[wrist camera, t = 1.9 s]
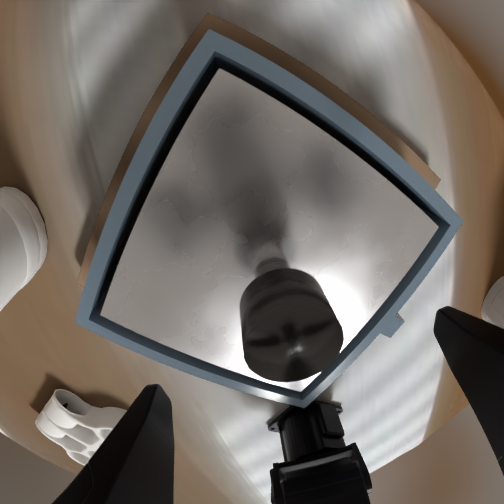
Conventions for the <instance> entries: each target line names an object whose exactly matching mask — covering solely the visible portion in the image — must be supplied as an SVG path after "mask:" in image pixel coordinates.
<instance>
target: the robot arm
mask: <svg viewBox="0 0 504 504" xmlns="http://www.w3.org/2000/svg"><path fill="white" fill-rule="evenodd" d="M434 334H435V337H436V339H437V341H438V343H439V345H440V347H441V349H442V351H443V354H444V356H445V358H446V360H447V362H448V365H449V367H450V369H451V371H452V373H453V374H454V376H455V378H456V380H457V381H458V383H459V385H460V387H461V388H462V390H463V392H464V394H465V396H466V397H467V399H468V401H469V403H470V405H471V407H472V408H473V410H474V412H475V414H476V416H477V418H478V420H479V422H480V424H481V426H482V428H483V430H484V432H485V434H486V436H487V438H488V441H489V443H490V445H491V447H492V449H493V451H494V454H495V455H496V458H497V460H498V463H499V465H500V467H501V470H502V472H503V475H504V329H503V328H501V327H499V326H496V325H494V324H491V323H489V322H487V321H484V320H482V319H479V318H477V317H474V316H472V315H469V314H467V313H465V312H462V311H460V310H457V309H455V308H452V307H450V306H446V307H443V308H441V309H439V310H438V311H437V313H436V318H435V323H434ZM342 411H343V409H342V407H340V406H335V405H330V404H326V403H321V402H317V401H312V402H311V403H310V404H309V405H307V406H306V407H305V408H302V407H298V406H294V405H291V406H290V407H289V408H288V409H287V410H286V411H285V412H284V413H282V414H281V415H280V416H279V417H278V418H277V419H275V420H274V421H273V422H272V423H271V424H270V425H268V430H269V431H273V432H279V433H280V438H281V444H282V450H283V455H284V461H285V462H282V463H273V469H271V470H270V476H271V503H272V504H370V500H369V496H368V494H369V493H372V483H371V479H370V475H369V472H368V469H367V467H366V465H365V462H364V460H363V458H362V456H361V454H360V451H359V449H358V447H357V445H356V443H352V444H350V445H348V446H346V445H345V442H344V439H343V436H344V430H343V427H342V424H341V422H340V419H339V416H338V415H339V414H340V413H342ZM173 487H174V433H173V419H172V405H171V401H170V399H169V397H168V396H167V394H166V393H165V391H164V390H163V389H162V387H161V386H160V385H159V384H152V385H147V386H146V387H145V388H144V389H143V390H142V392H141V393H140V394H139V396H138V397H137V398H136V399H135V401H134V402H133V403H132V405H131V406H130V407H129V409H128V410H127V411H126V413H125V414H124V415H123V416H122V418H121V419H120V420H119V422H118V423H117V424H116V426H115V427H114V428H113V430H112V431H111V432H110V433H109V435H108V436H107V437H106V439H105V440H104V441H103V443H102V444H101V445H100V447H99V448H98V449H97V450H96V452H95V453H94V454H93V456H92V457H91V458H90V460H89V461H88V463H87V464H86V465H85V466H84V467H83V469H82V470H81V471H80V473H79V474H78V475H77V476H76V478H75V479H74V480H73V481H72V482H71V483H70V485H69V486H68V487H67V488H66V489H65V490H64V491H63V492H62V493H61V494H60V495H59V496H58V497H57V498H56V500H55V501H54V502H53V503H52V504H173Z"/></svg>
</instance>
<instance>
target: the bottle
mask: <svg viewBox="0 0 504 504" xmlns="http://www.w3.org/2000/svg"><path fill="white" fill-rule="evenodd" d="M47 242H48V240H47V235H46V229H45V224H44V222H43V219H42V217H41V215H40V213H39V210H38V208H37V207H36V205H35V204H34V203H33V202H32V200H31V199H30V198H29V197H28V195H26V194H25V193H23V192H22V191H20V190H19V189H17V188H13V187H6V186H4V187H2V188H0V311H1V310H2V309H3V308H4V306H5V305H6V304H7V303H8V302H9V301H10V300H11V298H12V297H13V296H14V295H15V294H16V293H17V292H18V291H19V290H20V289H21V288H22V287H24V286H25V285H26V284H27V283H28V282H29V281H30V280H31V279H32V278H33V276H34V275H35V273H36V272H37V271H38V270H39V269H40V268H41V266H42V264H43V262H44V260H45V257H46V254H47Z"/></svg>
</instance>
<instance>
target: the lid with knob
mask: <svg viewBox="0 0 504 504" xmlns="http://www.w3.org/2000/svg"><path fill="white" fill-rule="evenodd" d="M437 229H438V226H437V225H436V224H435V223H434V222H433V221H432V220H431V219H430V218H429V217H428V216H427V215H426V214H425V213H424V212H423V211H422V210H421V209H420V208H419V207H418V206H417V205H415V204H414V203H413V202H412V201H411V200H410V199H409V198H408V197H407V196H406V195H404V194H403V193H402V192H401V191H400V190H399V189H398V188H396V187H395V186H394V185H393V184H392V183H391V182H389V181H388V180H387V179H386V178H385V177H383V176H382V175H381V174H380V173H379V172H377V171H376V170H375V169H374V168H373V167H371V166H370V165H369V164H368V163H366V162H365V161H364V160H362V159H361V158H360V157H359V156H357V155H356V154H355V153H353V152H352V151H351V150H349V149H348V148H347V147H345V146H344V145H343V144H341V143H340V142H339V141H337V140H336V139H335V138H333V137H332V136H330V135H329V134H328V133H326V132H325V131H323V130H322V129H320V128H319V127H318V126H316V125H315V124H313V123H312V122H310V121H309V120H307V119H306V118H304V117H303V116H301V115H300V114H298V113H297V112H295V111H293V110H292V109H290V108H289V107H287V106H286V105H284V104H282V103H281V102H279V101H277V100H276V99H274V98H273V97H271V96H269V95H267V94H266V93H264V92H262V91H261V90H259V89H257V88H255V87H254V86H252V85H250V84H248V83H247V82H245V81H243V80H241V79H239V78H237V77H236V76H234V75H232V74H230V73H228V72H226V71H224V70H222V69H220V68H219V70H218V71H217V73H216V74H215V76H214V77H213V79H212V80H211V82H210V84H209V85H208V87H207V88H206V90H205V91H204V93H203V95H202V96H201V98H200V100H199V101H198V103H197V105H196V106H195V108H194V110H193V111H192V113H191V115H190V116H189V118H188V120H187V122H186V123H185V125H184V127H183V129H182V130H181V132H180V134H179V136H178V138H177V139H176V141H175V143H174V145H173V147H172V149H171V150H170V152H169V154H168V156H167V158H166V160H165V162H164V164H163V166H162V168H161V170H160V172H159V174H158V176H157V178H156V180H155V182H154V184H153V186H152V188H151V190H150V192H149V194H148V196H147V198H146V201H145V203H144V205H143V207H142V209H141V211H140V214H139V216H138V218H137V220H136V223H135V225H134V227H133V230H132V232H131V234H130V237H129V239H128V241H127V244H126V246H125V249H124V251H123V254H122V256H121V259H120V261H119V264H118V266H117V269H116V272H115V274H114V277H113V280H112V282H111V285H110V288H109V291H108V294H107V296H106V299H105V302H104V305H103V308H102V311H101V314H100V315H101V316H103V317H105V318H107V319H109V320H111V321H113V322H115V323H117V324H119V325H121V326H123V327H125V328H128V329H130V330H132V331H134V332H136V333H138V334H141V335H143V336H145V337H147V338H149V339H152V340H154V341H156V342H159V343H161V344H163V345H166V346H168V347H170V348H173V349H175V350H178V351H180V352H183V353H185V354H188V355H190V356H193V357H195V358H198V359H201V360H203V361H206V362H209V363H211V364H214V365H217V366H220V367H222V368H225V369H228V370H231V371H234V372H237V373H240V374H243V375H246V376H249V377H252V378H255V379H258V380H261V381H265V382H268V383H271V384H274V385H278V386H281V387H285V388H288V389H292V390H296V391H299V392H301V391H302V390H303V389H304V388H306V387H307V386H308V385H309V384H310V383H311V382H312V381H313V380H314V379H315V378H316V377H317V376H318V375H319V374H320V373H321V372H322V371H323V370H324V369H326V368H327V367H328V366H329V365H330V364H331V363H332V362H333V361H334V360H335V359H336V358H337V356H338V355H339V353H340V352H341V351H342V350H343V349H344V348H345V347H346V346H347V344H348V343H349V342H350V341H351V340H352V339H353V338H354V337H355V336H356V334H357V333H358V332H359V331H360V330H361V329H362V328H363V327H364V325H365V324H366V323H367V322H368V321H369V320H370V318H371V317H372V316H373V315H374V314H375V312H376V311H377V310H378V309H379V308H380V306H381V305H382V304H383V303H384V301H385V300H386V299H387V298H388V297H389V295H390V294H391V293H392V291H393V290H394V289H395V288H396V286H397V285H398V284H399V282H400V281H401V280H402V279H403V277H404V276H405V275H406V273H407V272H408V271H409V269H410V268H411V266H412V265H413V264H414V262H415V261H416V260H417V258H418V257H419V255H420V254H421V253H422V251H423V250H424V248H425V247H426V245H427V244H428V242H429V241H430V240H431V238H432V237H433V235H434V234H435V232H436V231H437Z"/></svg>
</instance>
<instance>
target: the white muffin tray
mask: <svg viewBox="0 0 504 504" xmlns="http://www.w3.org/2000/svg"><path fill="white" fill-rule="evenodd" d="M65 403H68V406H67V408H65V407H63V406H62V405H64V404H65ZM126 411H127V410H125V409H121V408H117V407H104V408H98V407H94V406H91V405H89V404H88V403H86V402H84V401H83V400H81V399H80V398H79V397H78V396H76V395H75V394H73V393H72V392H70V391H67V390H63V389H56V390H55V391H54V393H53V395H52V397H51V398H50V399H49V401H48V402H47V404H45V406H44V408H43V410H42V411H41V413H40V414H39V415H38V416H37V419H36V421H35V424H36V426H37V427H38V429H39V430H40V431H41V433H43V434H44V435H45V436H46V437H48V438H49V439H50V440H52V441H53V442H55V443H57V444H59V445H60V446H62V447H63V448H64V449H65V450H66V452H67V454H68V455H69V456H70V457H71V458H72V459H73V460H75V461H77V462H78V463H80V464H82V465H86V464H87V463H88V461H89V460H90V458H91V457H92V456H93V454H94V453H95V452H96V450H97V449H98V448H99V447H100V445H101V444H102V443H103V441H104V440H105V439H106V437H107V436H108V435H109V433H110V432H111V431H112V430H113V428H114V427H115V426H116V424H117V423H118V422H119V420H120V419H121V418H122V416H123V415H124V414H125V413H126Z"/></svg>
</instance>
